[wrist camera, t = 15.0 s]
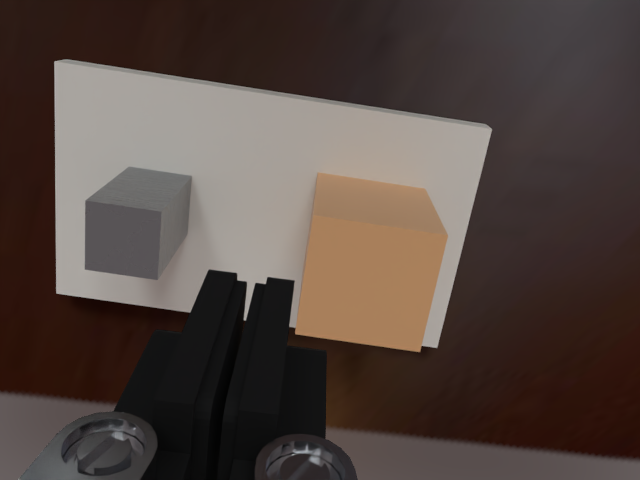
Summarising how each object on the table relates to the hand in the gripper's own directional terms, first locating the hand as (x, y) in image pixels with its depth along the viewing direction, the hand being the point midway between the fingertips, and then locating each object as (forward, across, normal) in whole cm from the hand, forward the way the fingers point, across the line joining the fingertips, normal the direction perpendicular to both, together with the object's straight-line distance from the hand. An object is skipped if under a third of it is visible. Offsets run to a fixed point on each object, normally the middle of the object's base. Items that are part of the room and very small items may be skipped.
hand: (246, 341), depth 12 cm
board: (+25, +2, +7) cm, 26 cm away
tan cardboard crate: (+23, -4, +7) cm, 24 cm away
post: (+25, +8, +6) cm, 27 cm away
